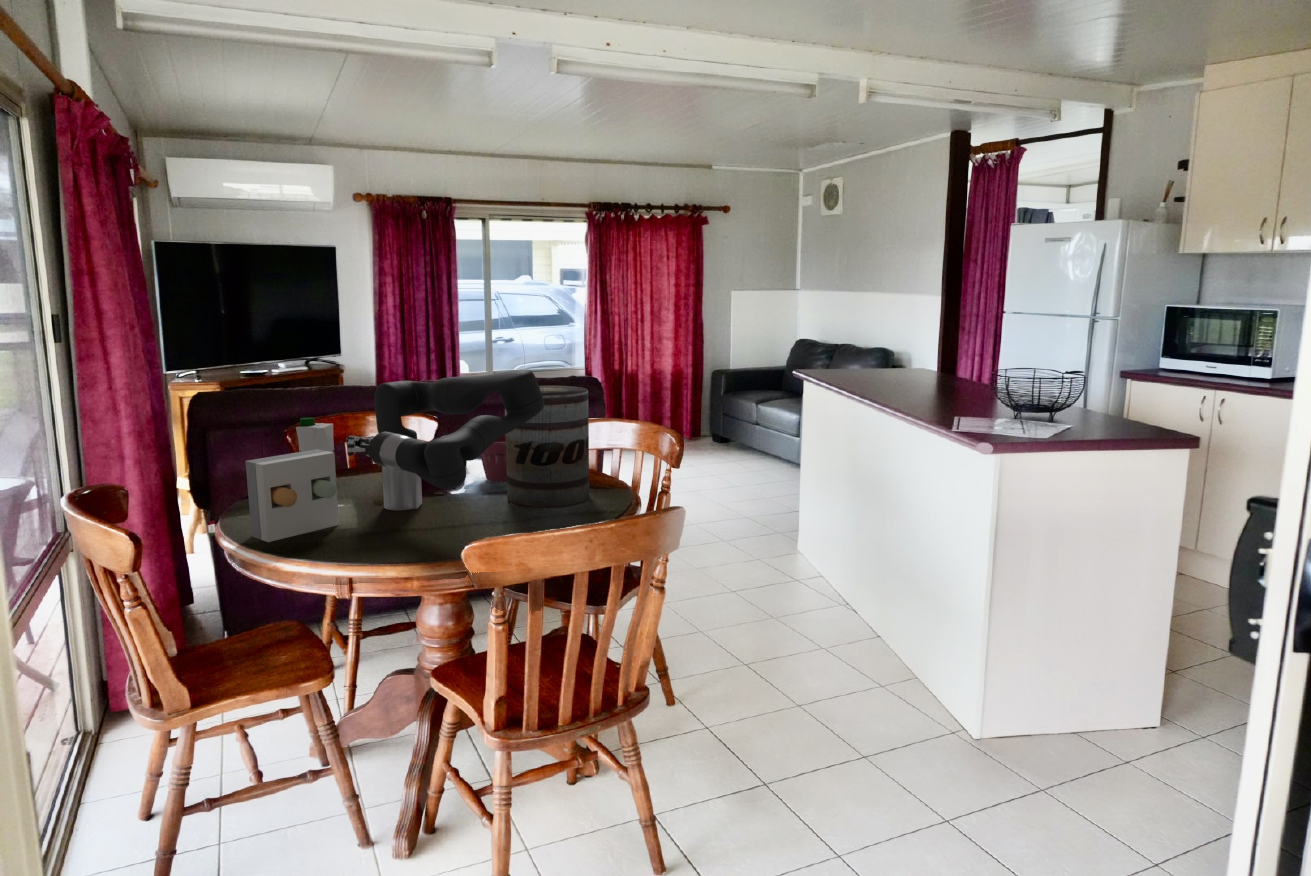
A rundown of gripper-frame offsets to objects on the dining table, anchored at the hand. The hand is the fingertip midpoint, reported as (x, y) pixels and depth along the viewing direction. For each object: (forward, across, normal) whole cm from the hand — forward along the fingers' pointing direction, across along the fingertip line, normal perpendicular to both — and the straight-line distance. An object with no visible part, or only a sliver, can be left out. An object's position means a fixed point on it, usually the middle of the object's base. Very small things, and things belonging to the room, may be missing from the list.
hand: (349, 440), depth 193 cm
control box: (+16, +5, +23) cm, 29 cm away
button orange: (+12, +10, +15) cm, 22 cm away
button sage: (+12, 0, +15) cm, 20 cm away
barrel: (-9, -55, +23) cm, 60 cm away
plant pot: (+19, -63, +24) cm, 70 cm away
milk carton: (+54, -24, +25) cm, 64 cm away
